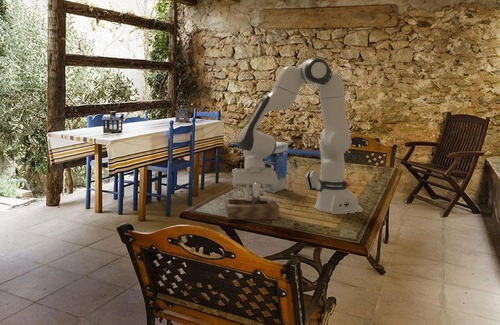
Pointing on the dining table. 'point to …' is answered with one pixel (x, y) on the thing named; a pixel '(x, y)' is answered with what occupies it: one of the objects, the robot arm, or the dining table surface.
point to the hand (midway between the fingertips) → (256, 195)
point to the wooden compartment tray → (251, 208)
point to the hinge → (312, 179)
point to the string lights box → (279, 165)
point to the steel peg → (256, 192)
